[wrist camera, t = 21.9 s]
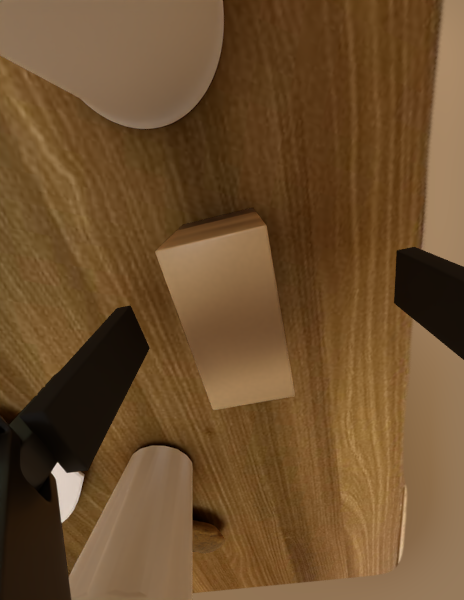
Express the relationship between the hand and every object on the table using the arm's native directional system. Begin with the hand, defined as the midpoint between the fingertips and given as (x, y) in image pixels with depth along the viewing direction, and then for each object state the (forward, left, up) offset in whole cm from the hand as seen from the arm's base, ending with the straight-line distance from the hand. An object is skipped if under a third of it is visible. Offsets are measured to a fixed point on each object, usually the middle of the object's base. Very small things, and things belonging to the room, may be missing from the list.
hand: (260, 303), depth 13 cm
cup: (+21, +5, -5) cm, 23 cm away
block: (+1, -1, -5) cm, 5 cm away
